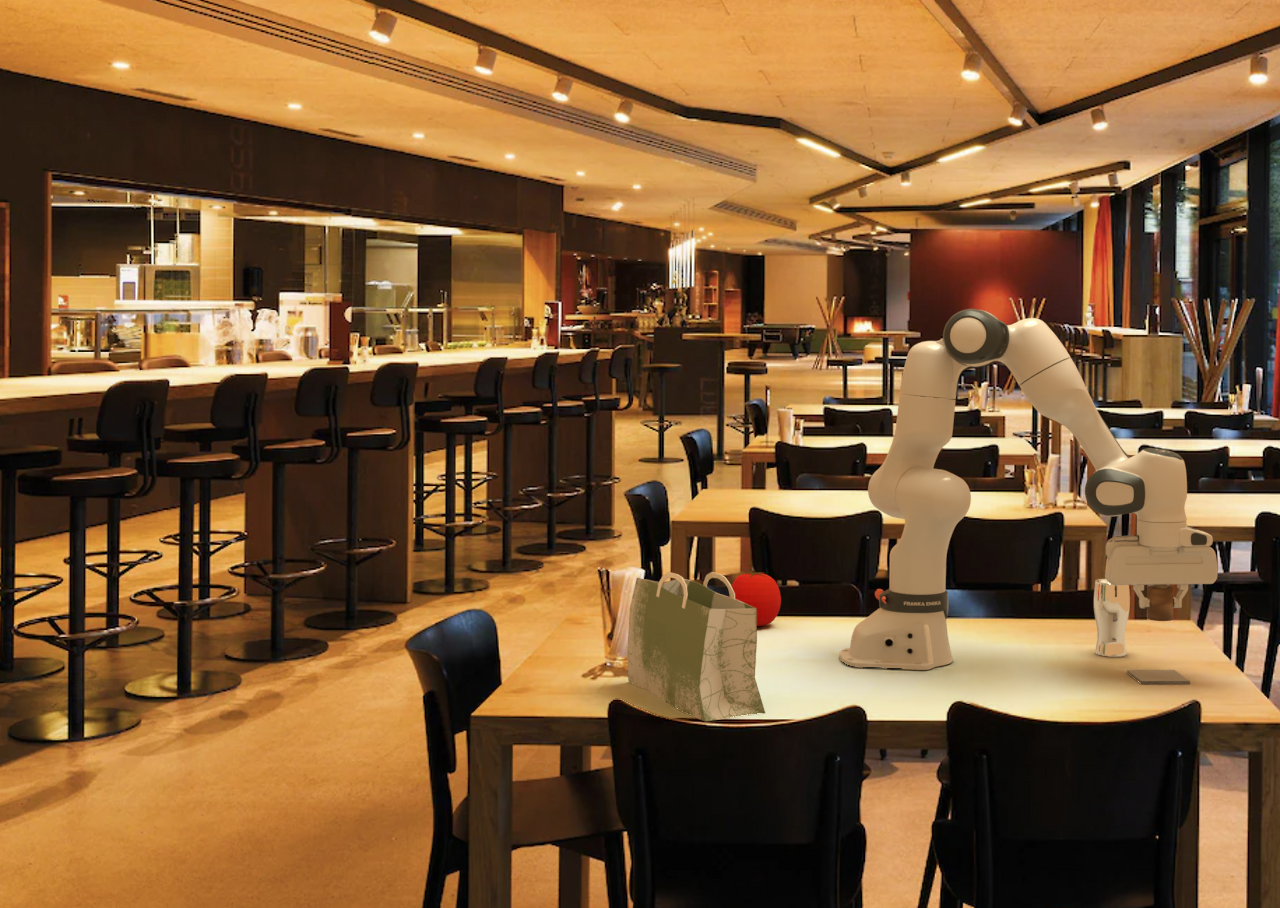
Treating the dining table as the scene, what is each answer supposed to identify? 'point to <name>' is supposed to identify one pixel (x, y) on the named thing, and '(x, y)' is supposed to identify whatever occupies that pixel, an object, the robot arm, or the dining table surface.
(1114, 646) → the beer glass
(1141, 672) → the coaster
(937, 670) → the dining table surface
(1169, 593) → the pepper mill
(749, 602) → the tomato
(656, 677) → the grocery bag
